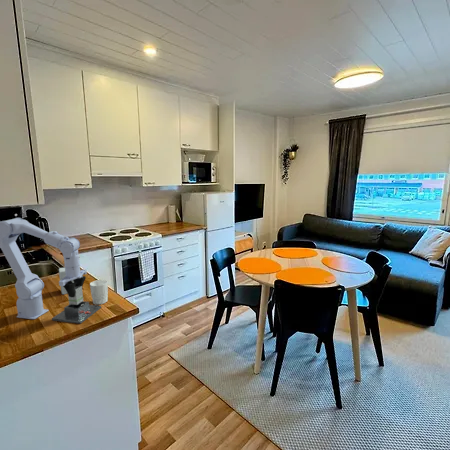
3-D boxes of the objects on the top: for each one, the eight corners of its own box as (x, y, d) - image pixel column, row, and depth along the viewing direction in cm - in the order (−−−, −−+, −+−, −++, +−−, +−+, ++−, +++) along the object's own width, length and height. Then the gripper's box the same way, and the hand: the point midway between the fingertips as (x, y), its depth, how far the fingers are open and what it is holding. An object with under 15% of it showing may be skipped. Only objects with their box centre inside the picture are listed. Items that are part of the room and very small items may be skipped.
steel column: (69, 304, 120) (67, 288, 119) (75, 299, 124) (74, 285, 123) (77, 304, 120) (75, 289, 118) (83, 300, 124) (82, 285, 122)
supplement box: (77, 291, 146) (75, 269, 144) (61, 294, 142) (59, 272, 140) (76, 286, 152) (73, 265, 150) (60, 289, 148) (58, 268, 146)
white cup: (111, 301, 135) (110, 282, 133) (95, 306, 130) (93, 287, 128) (104, 296, 140) (103, 278, 139) (89, 301, 135) (87, 282, 133)
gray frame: (52, 320, 118) (50, 310, 117) (75, 305, 131) (74, 296, 130) (80, 323, 115) (79, 313, 114) (101, 307, 129) (100, 298, 128)
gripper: (68, 272, 111) (71, 302, 114) (91, 261, 125) (93, 288, 128) (53, 271, 112) (56, 301, 115) (77, 260, 126) (80, 287, 129)
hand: (75, 294), depth 121 cm, fingers closed on steel column, 4 cm apart
